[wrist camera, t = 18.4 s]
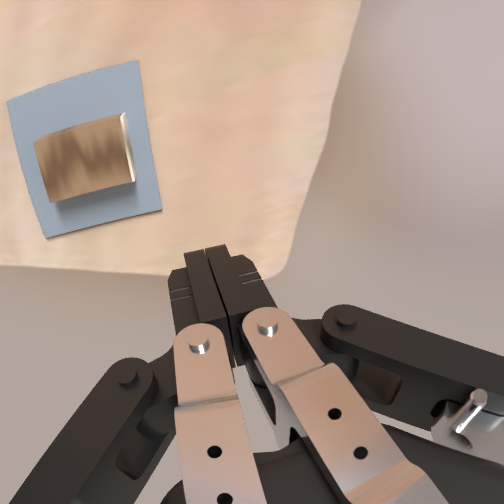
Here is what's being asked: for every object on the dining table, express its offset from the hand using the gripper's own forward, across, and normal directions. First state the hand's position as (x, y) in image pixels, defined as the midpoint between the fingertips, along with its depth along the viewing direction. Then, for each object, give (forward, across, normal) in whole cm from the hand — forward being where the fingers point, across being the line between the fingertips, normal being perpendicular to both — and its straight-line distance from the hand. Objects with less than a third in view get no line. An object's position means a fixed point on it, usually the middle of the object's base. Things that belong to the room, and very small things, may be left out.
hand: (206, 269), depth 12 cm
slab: (+25, +14, 0) cm, 29 cm away
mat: (+27, +10, 0) cm, 29 cm away
